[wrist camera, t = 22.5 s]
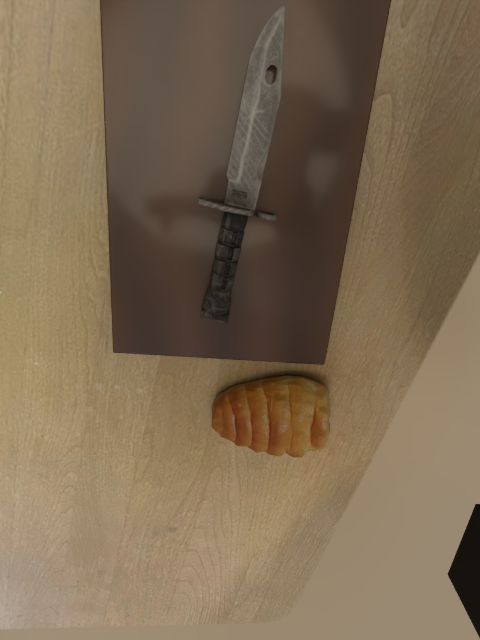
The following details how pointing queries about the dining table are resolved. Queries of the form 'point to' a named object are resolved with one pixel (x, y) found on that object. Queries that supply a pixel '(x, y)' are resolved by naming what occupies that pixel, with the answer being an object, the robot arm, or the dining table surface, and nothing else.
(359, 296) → the dining table surface
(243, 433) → the pastry
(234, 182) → the knife
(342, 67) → the cutting board
